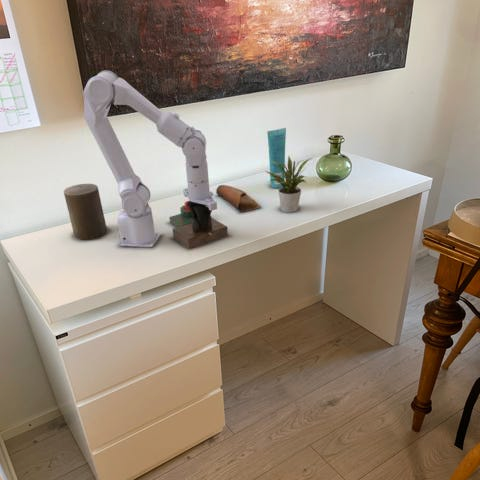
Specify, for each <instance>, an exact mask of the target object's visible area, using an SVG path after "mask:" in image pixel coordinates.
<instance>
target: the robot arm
mask: <svg viewBox="0 0 480 480" xmlns="http://www.w3.org/2000/svg"><path fill="white" fill-rule="evenodd" d="M82 93H83V98H84V103H83V104H84V106H83V107H84V109H83V117H84V120H85V122H86V124H87V126H88V128H89V130H90V132H91V134H92V136H93V138H94V140H95V141H96V142H95V143H96V144H97V145H98V147H99V149H100V152H101V154H102V156H103V157H104V159H105V161H106V163H107V164H108V168H109V169H110V171H111V173H112V175H113V177H114V179H115V181H116V183H117V187H118V189H117V190H118V194H119V195H118V196H119V197H120V199H121V208H122V210H121V211H119V212H118V216H117V226H118V227H117V228H118V233H119V238H120V246H121V247H135V248H136V247H137V248H153V247H154V245H155V244H156V243H157V241H158V240H159V238H160V236H161V234H160V233H156V231H155V224H154V218H153V211H152V207H151V206H150V204H149V201H150V199H151V191H150V189H149V187H148V186H147V185H145V184H144V182H143V181H142V180H141V177H140V176H138V175H137V174H136V173H135V171H134V169H133V167H132V165H131V162H130V161H129V159H128V157H127V155H126V153H125V151H124V149H123V146H122V144H121V142H120V141H119V138H118V137H117V134H116V132H115V130H114V128H113V125H112V124H111V122H110V120H109V118H108V114H109V111H110V108H111V106H112V103H113V105H115V106H117V105H118V106H123V105H124V106H129V107H130V108H131V109H133V110H134V111H136V112H137V113H139V114H140V115H142V116H143V117H145V118H147V119H148V120H149V121H151V122H152V123H154V124H155V127H156V130H157V132H158V133H159V134H160V135H162V136H163V137H164V138H166V139H167V140H168V141H170V142H171V143H172V144H174V145H175V146H176V147H178V148H181V150H182V151H181V152H182V154H183V156H185V171H186V182H187V183H186V184H187V188H184V189H183V197H186V198H187V200H188V201H190V202H187V203H186V204H187V206H188V208H189V209H190V211H191V213H192V215H193V218H198V221H199V226H200V228H201V229H205V228H208V224H209V219H210V216H212V212H213V211H215V210H218V203H217V201H216V200H215V199H214V198H213V196H214V192H213V191H210V181H209V180H210V179H209V167H208V166H209V165H208V161H207V152H206V150H207V148H206V147H207V139H206V136H205V135H204V134H203V132H202V131H201V130H199V129H196V128H195V127H194V126H189V124H187V123H185V122H184V121H183V120H182V119H180V114H178V113H177V112H175V113H173V112H172V111H166V112H165V111H164V112H163V111H162V110H161V109H159V107H158V106H156V105H154V103H152V102H151V101H149V99H147V98H146V97H145V96H144V95H142V93H140V92H139V91H138V90H137V89H135V88H134V87H133V86H132V85H131V84H130V83H129V82H127V81H126V80H125V79H124V78H122V77H118V75H117V74H116V73H115V72H113V71H111V70H101V71H99V72H98V73H97V75H95V76H92V77H90V78H89V79H88V81H87V83H86V85H85V87H84V89H83V92H82Z"/></svg>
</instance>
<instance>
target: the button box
mask: <svg viewBox="0 0 480 480" xmlns="http://www.w3.org/2000/svg"><path fill="white" fill-rule="evenodd" d="M179 209H180V210H179V212H180V213H178V214H175V215H171V216H169V217H168V218H169V223H170V224H171V225H172V226H174V228H177V227H180V226H183V225H187V224H190V223H192V219H194V218H193V215H192V213H191V211H189V210H185V204H183V205H182V206H181V207H180V208H179Z"/></svg>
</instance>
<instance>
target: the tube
mask: <svg viewBox="0 0 480 480" xmlns="http://www.w3.org/2000/svg"><path fill="white" fill-rule="evenodd" d="M266 133H267V144H268V145H267V146H268V159H269V162H268V163H269V172H272V173H274V174H276V175H278V176H280V177H281V178H282V179H283V180H284V181H285V179H284V178H285V177H284V176H282V175H283V173H284V172H283V173H282V171H283V170H282V171H281V169H280V168H281V167H280V168H279V165H278V164H276V163H274V162H277V163H279V164H280V165H281V166H282V167H283V168H284V169H285V167H284V165H285V166H286V138H287V128H286V127H283V128H278V129H273V130H268V131H267V132H266ZM272 161H274V162H272ZM280 161H281V162H282V163H283V164H284V165H283V164H282V163H281V162H280ZM271 166H272V167H271ZM273 167H274V168H273ZM275 168H276V169H275ZM285 170H286V169H285ZM284 175H285V174H284ZM272 179H275V178H274V177H272V176H271V175H270V174H269V181H270V180H272ZM269 183H270V187H271V188H275V189H278V188H279V189H280V188H282V187H283V186H282V185H281V184H280V183H279V182H278V181H270V182H269Z"/></svg>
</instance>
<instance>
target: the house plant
mask: <svg viewBox="0 0 480 480" xmlns="http://www.w3.org/2000/svg"><path fill="white" fill-rule="evenodd" d="M312 159H313V158H308V159H306V160H300V161H298V162H297V163H296V161H295V160H294V161H292V159H291V156H290V155H288V156H287V166H286V164H285V165H284V164H283V163H282V162H281V161H280V162H281V163H282V164H283V165H284V167H285V169H284V168H283V167H282V166H281V165H280V164H279V163H277V162H274V161H272V162H274V163H276V164H278V165H279V168H280V167H281V168H280V169H281V171H282V170H283V171H282V173H283V172H284V173H283V175H282V176H284V180H283V179H282V178H281V177H280V176H278V175H276V174H274V173H272V172H270V171H268V170H265V173H266V174H268V175H269V176H270V175H271V176H272V177H274V178H275V179H272V180H270V179H269V181H268V182H267V183H270V181H278V182H279V183H280V184H281V185H282V186H283V187H280V188H279V189H278V197H279V204H280V209H281V211H282V212H284V213H295V212H297V211H298V210H299V205H300V198H301V195H302V194H301V193H302V189H301V188H300V187H298V185H300V183H305V184H307V180H306V179H303V178H307V176H306V175H301V174H302V173H303V172H304V170H303V169H304V168H305V165H306V164H307V163H308V162H309V161H310V160H312ZM301 162H302V163H301ZM300 163H301V164H300ZM299 164H300V166H299V167H298V165H299ZM271 167H272V166H271ZM297 167H298V169H297ZM273 168H274V167H273ZM275 169H276V168H275ZM296 169H297V172H296ZM295 172H296V173H295ZM284 174H285V175H284Z"/></svg>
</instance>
